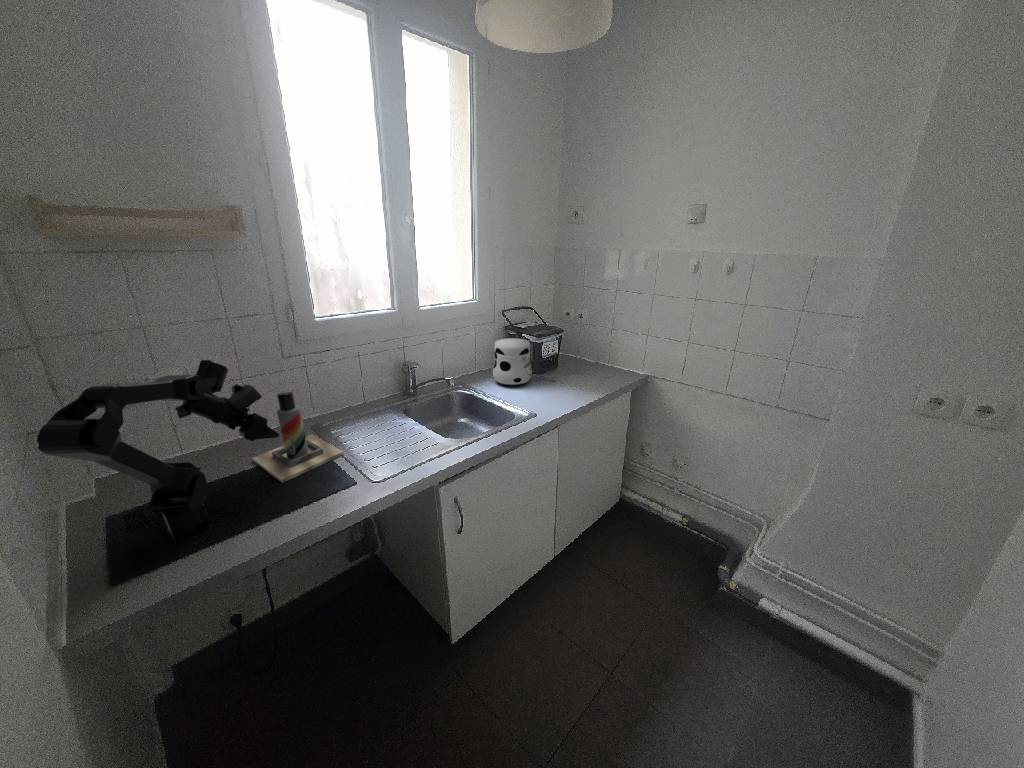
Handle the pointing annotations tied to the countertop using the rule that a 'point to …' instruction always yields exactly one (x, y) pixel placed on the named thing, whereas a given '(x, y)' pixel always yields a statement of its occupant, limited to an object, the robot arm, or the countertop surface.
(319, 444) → the port board
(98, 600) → the countertop surface
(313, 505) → the countertop surface
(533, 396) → the countertop surface
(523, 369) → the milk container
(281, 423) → the lotion bottle
